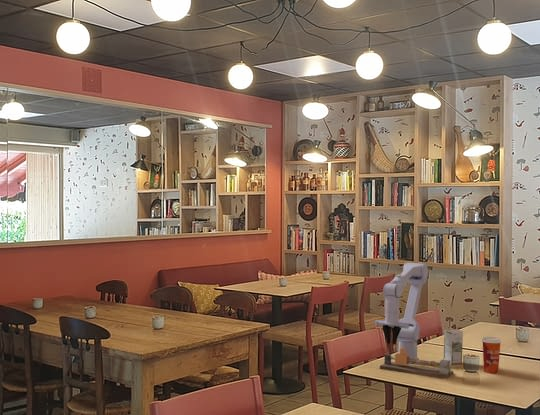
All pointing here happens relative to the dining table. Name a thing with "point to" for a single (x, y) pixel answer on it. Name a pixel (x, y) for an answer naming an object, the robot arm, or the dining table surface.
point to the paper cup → (491, 354)
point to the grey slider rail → (419, 367)
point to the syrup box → (453, 345)
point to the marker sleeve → (402, 357)
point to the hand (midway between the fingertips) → (391, 343)
